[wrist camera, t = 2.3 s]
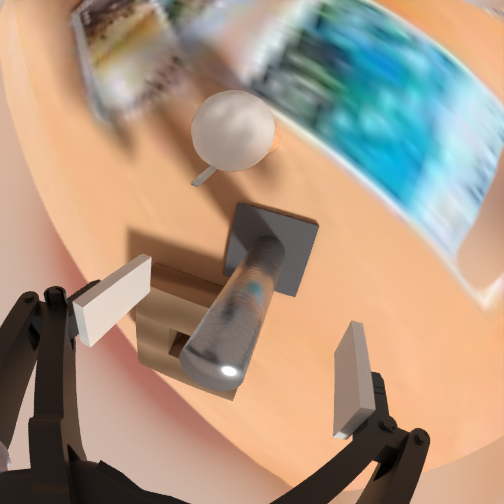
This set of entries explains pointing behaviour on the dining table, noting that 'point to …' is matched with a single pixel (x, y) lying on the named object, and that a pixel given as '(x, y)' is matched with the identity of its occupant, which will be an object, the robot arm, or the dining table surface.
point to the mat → (281, 227)
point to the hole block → (173, 321)
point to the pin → (234, 320)
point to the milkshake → (233, 132)
